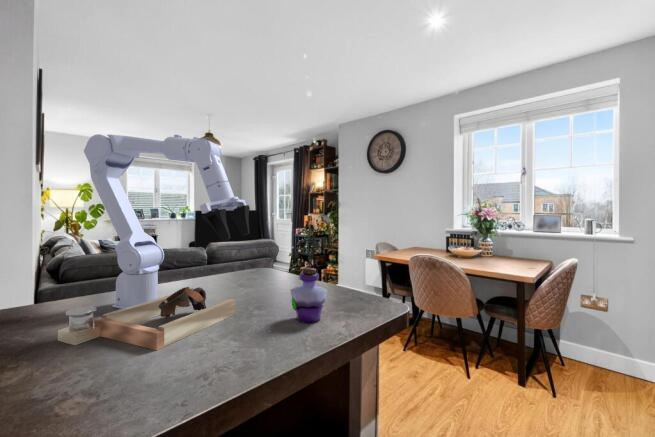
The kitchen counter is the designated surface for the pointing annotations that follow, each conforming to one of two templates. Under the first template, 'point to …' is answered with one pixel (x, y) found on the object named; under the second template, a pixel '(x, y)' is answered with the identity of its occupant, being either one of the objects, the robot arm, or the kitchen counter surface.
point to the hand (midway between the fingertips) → (236, 237)
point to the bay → (125, 329)
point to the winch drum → (79, 326)
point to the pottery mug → (183, 301)
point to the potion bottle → (308, 297)
